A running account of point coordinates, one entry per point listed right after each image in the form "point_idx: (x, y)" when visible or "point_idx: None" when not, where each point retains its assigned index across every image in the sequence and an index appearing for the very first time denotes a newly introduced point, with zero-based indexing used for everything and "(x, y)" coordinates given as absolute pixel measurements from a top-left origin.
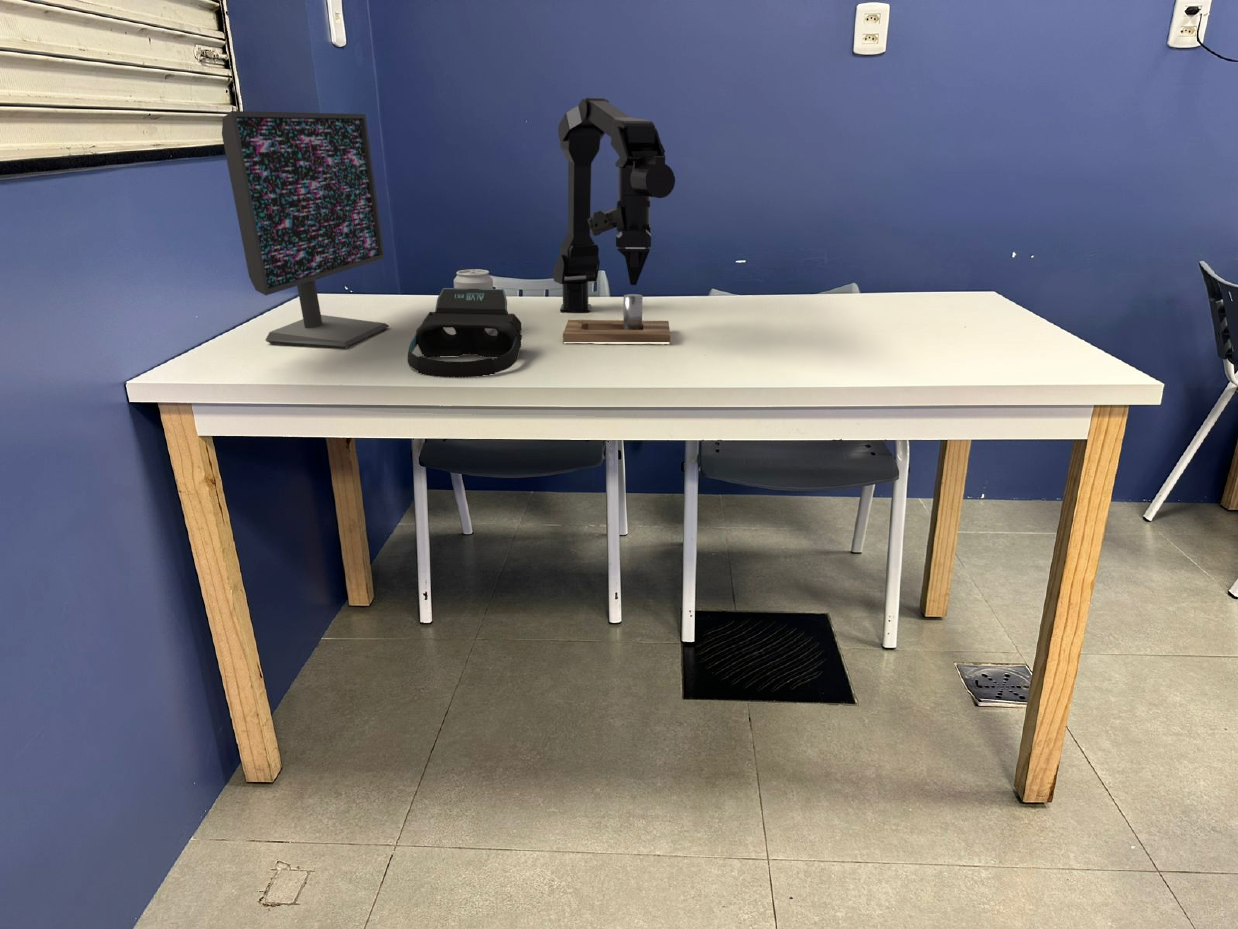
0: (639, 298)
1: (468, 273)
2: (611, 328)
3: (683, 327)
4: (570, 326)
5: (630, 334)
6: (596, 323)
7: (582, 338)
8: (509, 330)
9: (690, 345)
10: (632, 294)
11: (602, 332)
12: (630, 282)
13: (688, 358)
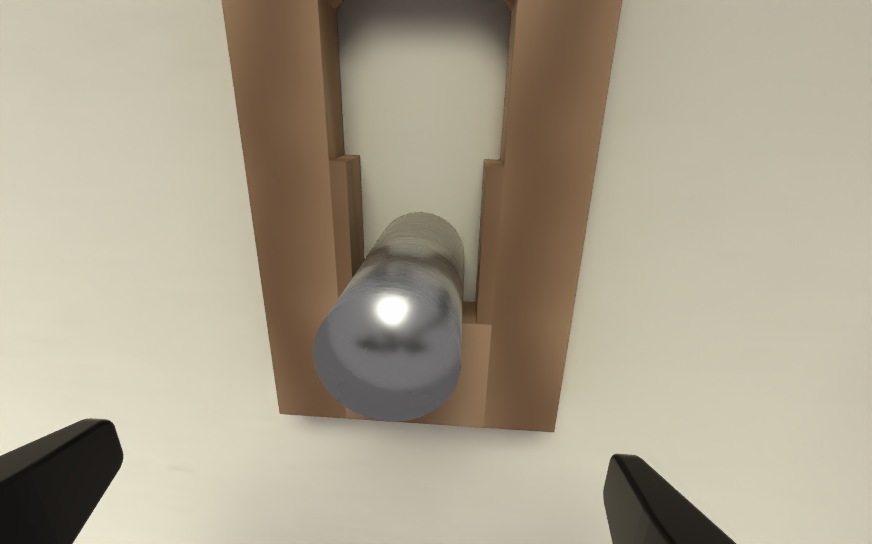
0: (340, 393)
1: None
2: (502, 155)
3: (603, 457)
4: None
5: (258, 255)
6: (512, 60)
7: None
8: None
9: (303, 446)
10: (447, 360)
11: (268, 107)
12: (62, 432)
13: (124, 421)
